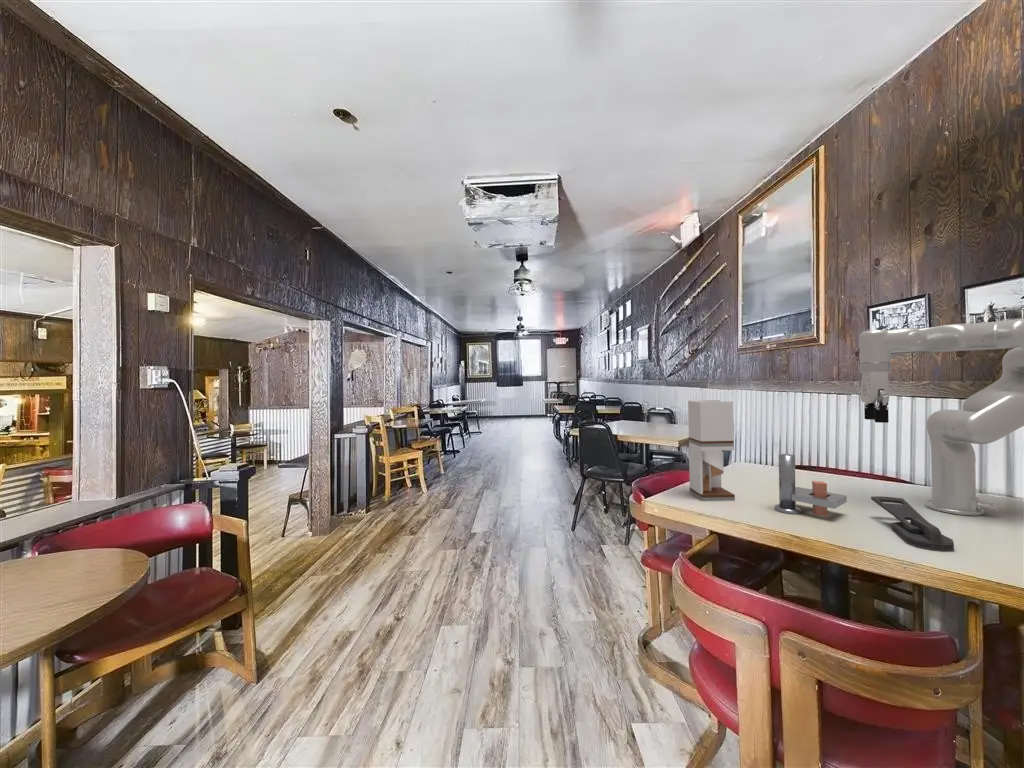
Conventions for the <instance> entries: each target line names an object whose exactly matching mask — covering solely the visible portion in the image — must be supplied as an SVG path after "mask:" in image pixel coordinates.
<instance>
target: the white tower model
mask: <svg viewBox="0 0 1024 768" xmlns="http://www.w3.org/2000/svg"><path fill="white" fill-rule="evenodd" d="M687 402H688V403H687V404H688V405H687V407H688V408H687V409H688V414H687V416H688V459H689V462H688V465H689V467H688V469H689V493H690V494H691V495H693V496H694V497H696V498H697V499H699V501H702V502H711V501H712V502H715V501H716V502H720V501H722V502H725V501H727V502H728V501H736V497H735V496H736V494H734V493H732V492H730V491H729V490H727V489H725V488H723V487H722V475H723V474H724V472H725V471H724V452H723V451H734V450H735V439H734V438H735V437H734V436H735V433H734V401H731V400H730V401H720V399H702V400H687Z"/></svg>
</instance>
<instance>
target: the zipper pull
mask: <svg viewBox="0 0 1024 768" xmlns="http://www.w3.org/2000/svg"><path fill="white" fill-rule="evenodd" d="M870 500H871V501H872V502H874V503H876V504H877V505H878V506H879V507H881V508H882V509H883V510H885V511H886V512H888V513H889V514H890V515H892V517H894V518H895V519H897V520H898V521H896V522H895V521H894V522H892V523H891V531H892V532H893V533H894V534H896V535H897V536H898V537H899V538H900V539H901V540H902V541H903V542H904V543H905V544H907V545H909V546H912V547H914V548H917V549H923V550H927V551H931V552H943V553H944V552H945V553H947V552H954V551H955V544H954V540H953V538H950V537H948V536H946V535H943V534H942V532H941V530H940V529H939V527H938V526H936V525H935V524H932V523H930V522H929V521H928V520H926V519H925V518H924V517H923V516H922V515H921V514H920V513H919V512H918V511H917V510H916V509H915V508H913V506H911V505H910V504H909V503H908V502H907V501H906V499H904V498H903V497H893V496H882V495H881V496H877V495H876V496H875V495H874V496H870Z"/></svg>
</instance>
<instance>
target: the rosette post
mask: <svg viewBox="0 0 1024 768" xmlns="http://www.w3.org/2000/svg"><path fill="white" fill-rule="evenodd" d="M778 497H779V498H778V499H779V500H778V501H779V504H778V503H777V504H775V505H774V510H775V511H776V512H778V513H782V514H787V515H801V514H802V510H801V508H800V507H798V506H796V505H797V504H796V503H797V502H798V503H802V504H807V505H812V506H813V505H818V506H823V507H827V509H837V508H838V507H840V506H842V505H844V504H845V503H847V502H848V501H847V497H848V496H847V495H846V494H839V493H833V492H828V491H827V498H823V497H818V496H813V495H812V489H810V488H806V487H799V486H796V455H794V454H791V453H778Z"/></svg>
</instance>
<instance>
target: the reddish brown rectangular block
mask: <svg viewBox="0 0 1024 768" xmlns="http://www.w3.org/2000/svg"><path fill="white" fill-rule="evenodd" d="M811 485H812V495H813V496H818V497H823V498H827V492H828V483H827V482H825V481H822V480H812V481H811ZM812 513H813V514H814V515H815V516H821V517H822V516H823V517H828V507H823V506H818V505H813V504H812Z"/></svg>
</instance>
